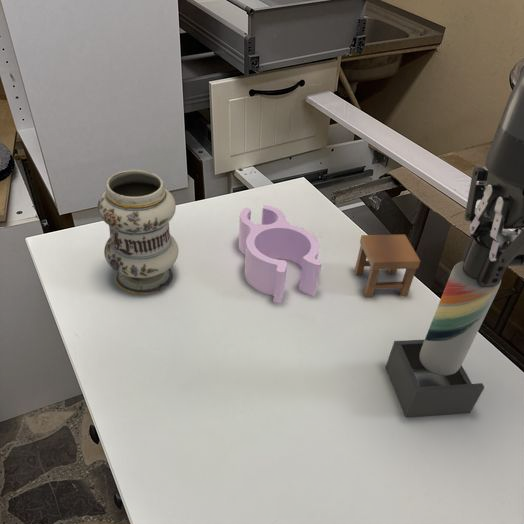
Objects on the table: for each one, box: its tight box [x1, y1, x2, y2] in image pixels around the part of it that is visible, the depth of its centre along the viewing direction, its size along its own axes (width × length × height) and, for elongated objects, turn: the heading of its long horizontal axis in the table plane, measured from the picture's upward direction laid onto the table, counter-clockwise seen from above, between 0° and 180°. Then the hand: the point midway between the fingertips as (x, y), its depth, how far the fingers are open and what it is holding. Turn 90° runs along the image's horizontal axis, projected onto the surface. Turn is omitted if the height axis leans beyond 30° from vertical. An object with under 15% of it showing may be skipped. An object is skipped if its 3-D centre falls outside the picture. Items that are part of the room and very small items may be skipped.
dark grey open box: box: [385, 339, 485, 419], centre depth 75 cm, size 10×10×6 cm
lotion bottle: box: [420, 231, 509, 376], centre depth 65 cm, size 6×6×20 cm
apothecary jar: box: [97, 169, 179, 295], centre depth 85 cm, size 12×12×18 cm
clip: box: [238, 204, 323, 304], centre depth 93 cm, size 20×12×7 cm, turn 22°
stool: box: [354, 234, 421, 298], centre depth 91 cm, size 8×8×8 cm
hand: (478, 272), depth 62 cm, fingers closed on lotion bottle, 3 cm apart
